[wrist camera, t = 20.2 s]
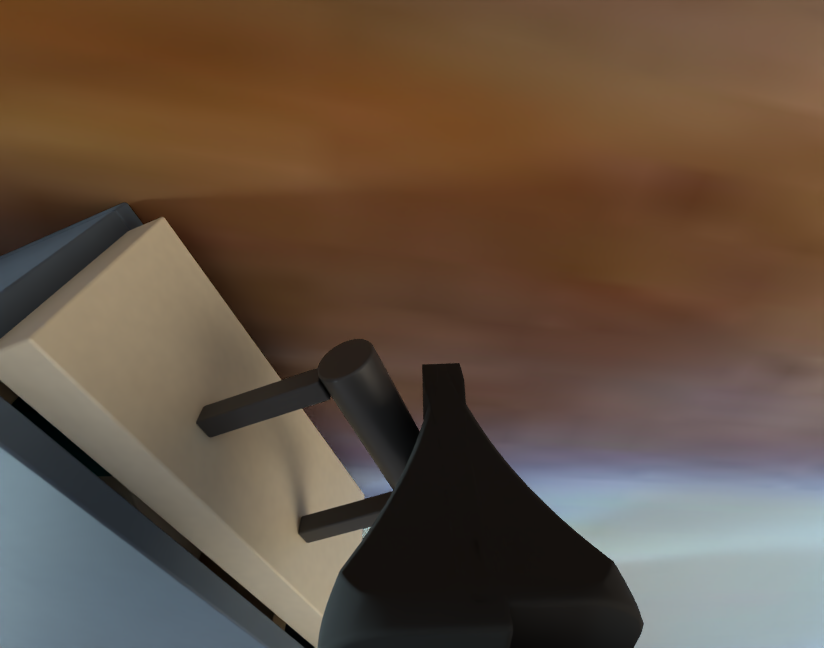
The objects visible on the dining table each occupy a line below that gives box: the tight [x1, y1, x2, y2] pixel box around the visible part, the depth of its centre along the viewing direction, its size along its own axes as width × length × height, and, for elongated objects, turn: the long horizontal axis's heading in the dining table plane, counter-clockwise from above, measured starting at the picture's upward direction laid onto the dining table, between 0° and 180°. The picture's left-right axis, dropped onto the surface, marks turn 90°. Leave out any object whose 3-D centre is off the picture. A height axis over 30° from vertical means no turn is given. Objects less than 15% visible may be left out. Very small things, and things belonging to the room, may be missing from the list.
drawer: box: [0, 217, 420, 648], centre depth 15 cm, size 18×13×6 cm
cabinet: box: [0, 203, 315, 648], centre depth 15 cm, size 14×14×7 cm
